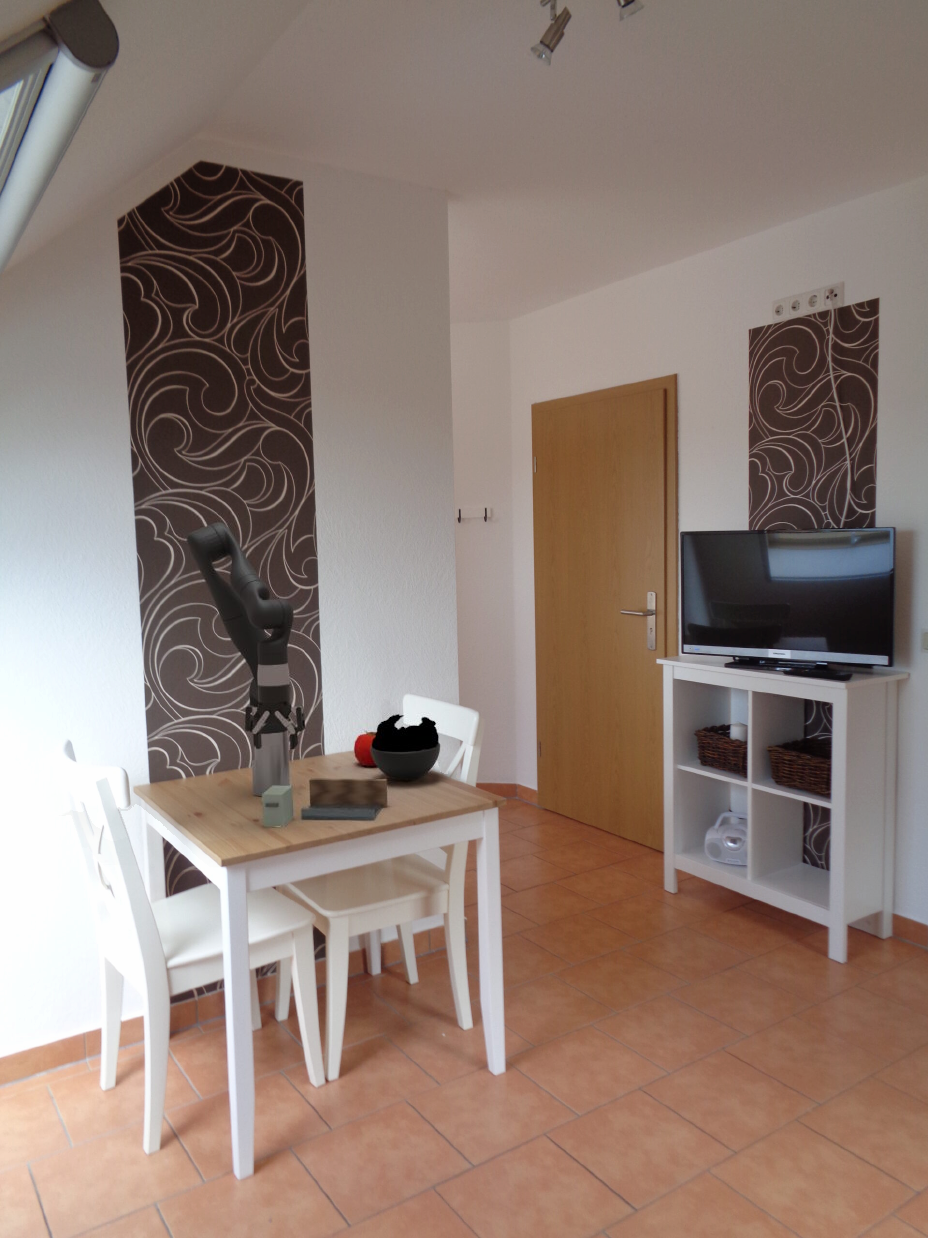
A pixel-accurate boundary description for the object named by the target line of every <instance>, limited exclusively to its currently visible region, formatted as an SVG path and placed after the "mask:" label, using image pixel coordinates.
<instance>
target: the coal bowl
mask: <svg viewBox="0 0 928 1238" xmlns="http://www.w3.org/2000/svg"><path fill="white" fill-rule="evenodd" d="M404 716H405V715H404V714H401V715H400V713H398V714H393V715H391V716H389V717H388V718H387V719H386V720H383V721H380V722H379V724H378V725H377V726H376V731H375V732H376V734H375V738H373V741H372V745H371V746H370V750H371V755H372V758H373V760H374V762H375V764H376V765H375V766H376V767H377V768H378V769H379V771H381V773H382V774H384V775H385V776H387V777H389V778H391V779H394V780H397V781H403V782H404V781H414V780H417V779H419V778H422V777H423V776H425V775H426V774H427V773H428V772H430V771H431V769H433V767H434V766H435V765H436V763H437V760H438V757H440V751H441V744H440V742H439V737H440V735H439V733H438V729H437V727H436V725H437V723H436V721H435V720H432V719H430V718H429V717H426V716H422V717H421V718H420V721H421V723H419V724H418V725H417V724H413V725H408V726H406V727H404V726H401V727H400V728H398V727H396V724H397V722H398V721H400V719H402V718H403V717H404Z"/></svg>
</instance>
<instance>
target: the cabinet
mask: <svg viewBox="0 0 928 1238" xmlns="http://www.w3.org/2000/svg"><path fill="white" fill-rule="evenodd" d="M293 793H294V792H293V785H290V786H272V787H270V788H269V789H268V790H267V791H265V792H264V793H263V794H262V796H261V803H262V827H263V826H281V827H280V828H284V827H286V826H287V825H288V823H289V822H290V821H291V820H293V819H294V797H293V796H294V794H293ZM283 826H284V827H283Z"/></svg>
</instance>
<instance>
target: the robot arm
mask: <svg viewBox="0 0 928 1238" xmlns="http://www.w3.org/2000/svg"><path fill="white" fill-rule="evenodd" d="M186 543H187V546H188V547H187V548H188V550H189V552H190V554H191V556H192V558H193V560H194V562H195V564H196V566H197V568H198V570H199V572H200V573H201V575H202V577H203V579H204V581H205V582H204V583H206V586H207V587H208V591H209V592H210V594H211V597H212V600H213V602H214V604H215V606H216V608H217V613H219V616H220V620H221V621H222V624H223V626H224V628H225V630H226V633H227V635H228V637H229V639H230V640H231V642H232V643H233V645H234V646H235V648H236V649H237V650H238V652H239V654H241V656H242V657H243V659H244V660H245V662H246V663H247V665H248V667H249V670H250V672H251V674H252V677H253V678H252V679H251V680H250V683H249V694H248V696H249V706H246V708H245V716H244V717H245V719H244V722H245V723H244V724H245V727H244V729H245V731H246V732H249V733H252V736H253V737H252V738H253V748H254V759H252V761H251V763H252V764H251V765H252V766H251V767H252V768H251V769H252V793H253V796H258V797H262V794H263V793H264V792H265V791H267V790H268V789H269V788H270V787H272V786H291V772H290V771H291V770H290V750H295V749H296V747H297V746H298V744H299V739H298V738H299V737H298V734H299V733H300V732H302V731H304V730H306V719H305V710H304V709H305V708H304V706H303V705H298V706H292V705H291V685H290V684H291V683H290V682H291V677H290V670H289V663H288V661H289V660H288V646H289V645H288V644H289V641H290V637H291V632H292V627H293V623H294V619H295V618H294V616H295V614H294V609H293V606H292V604H291V602H289V601H288V600H287V599H283V598H279V599H278V598H277V599H276V598H275V599H270V597H271V591H270V589H269V587H268V585H267V584H266V583H265V581H264V580H263V579H262V578H261V577H260V576H259V574H258V573H257V572H256V571H255V569H254V568H253V567H252V565H251V563H250V561H249V559H248V557H247V556H246V554H245V552H244V550H243V549H242V547H241V545H240V544H239V542H238V540H237V539H236V536H235V535H234V534H233V532H232V531H231V529H230V528H229V526H227V525H226V524H225V523H223V522H221V521H220V522H219V521H217V522H213V523H211V524H209V525H206V526H203V527H201V528H198V529H196V530H194V531H191V532H189V533H188V534H187V536H186ZM229 556H230V558H231V566H230V571H229V572H230V573H229V581H230V583H229V582H227V580H225V579H224V578H223V577H222V576H221V575H220V574H219V573H218V572H217V570H216V569H215V567H214V565H213V563H216V562H217V561H220V560H222V559H225V558H227V557H229ZM266 630H272V633H271V635H270V636H267V633H266V632H265V631H266ZM292 713H293V714H294V716H296V724H295V723H294V720H293V719H292V718H291V717H290V715H291V714H292ZM289 732H290V734H289Z"/></svg>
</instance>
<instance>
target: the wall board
mask: <svg viewBox="0 0 928 1238" xmlns="http://www.w3.org/2000/svg"><path fill="white" fill-rule="evenodd" d="M308 781H309V784H308V786H309V808H310V807H311V806H312V805H313V804H382V807H383V808H385V809H387V807H388V779H387V778H384V779H383V778H319V777H318V778H312V777H311V778H310V779H309V780H308ZM383 808H382V809H383Z"/></svg>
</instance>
